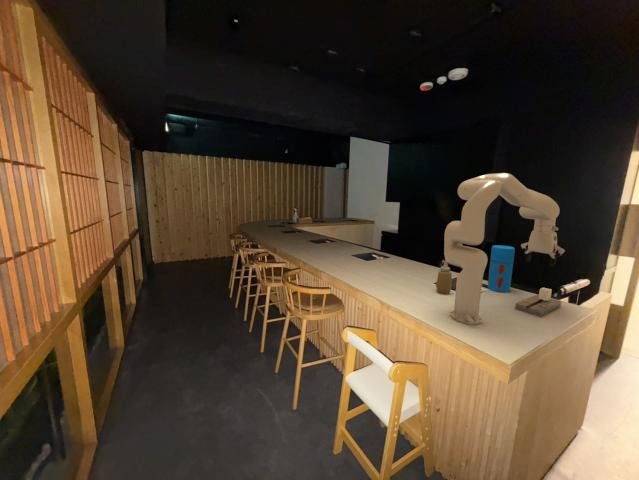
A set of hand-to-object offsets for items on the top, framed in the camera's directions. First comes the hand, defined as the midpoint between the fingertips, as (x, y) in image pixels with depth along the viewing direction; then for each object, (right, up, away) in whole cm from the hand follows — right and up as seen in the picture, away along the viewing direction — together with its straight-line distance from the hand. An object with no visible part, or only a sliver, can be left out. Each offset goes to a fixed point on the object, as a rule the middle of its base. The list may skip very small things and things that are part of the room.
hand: (539, 263), depth 130 cm
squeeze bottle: (-38, -18, +20) cm, 46 cm away
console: (-1, -21, -1) cm, 21 cm away
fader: (+4, -19, +2) cm, 19 cm away
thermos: (-4, -17, +25) cm, 30 cm away
